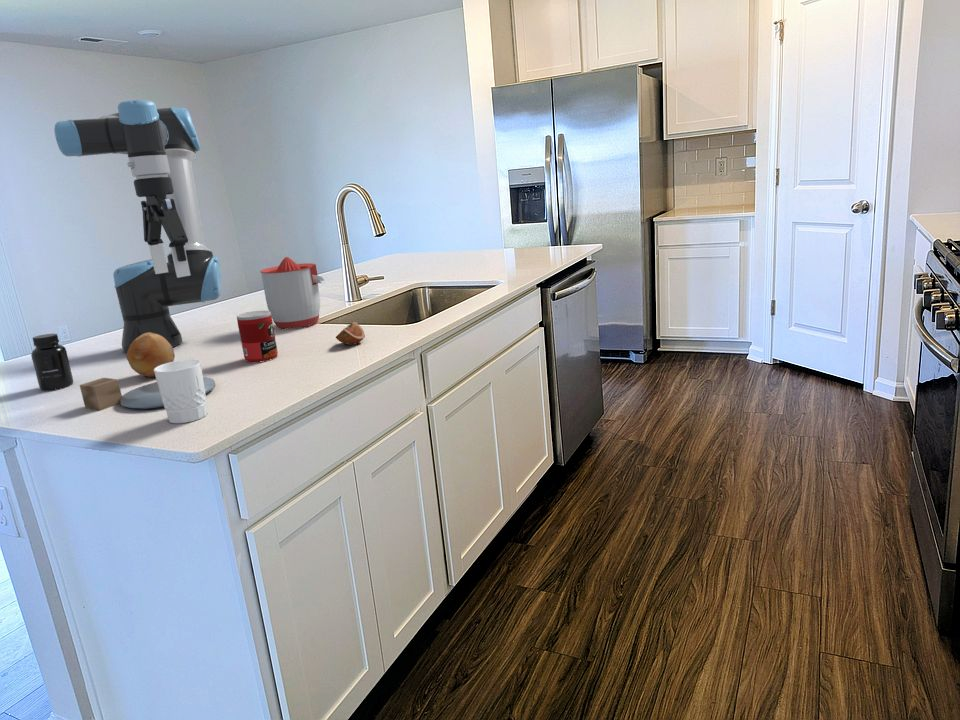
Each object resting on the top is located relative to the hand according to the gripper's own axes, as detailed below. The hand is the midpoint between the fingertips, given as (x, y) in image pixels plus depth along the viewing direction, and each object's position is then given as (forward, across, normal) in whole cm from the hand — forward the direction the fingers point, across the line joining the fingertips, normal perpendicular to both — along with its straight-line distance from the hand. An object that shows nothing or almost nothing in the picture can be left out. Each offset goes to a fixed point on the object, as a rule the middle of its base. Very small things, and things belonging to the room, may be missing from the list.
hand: (172, 274), depth 155 cm
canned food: (+23, +6, +14) cm, 28 cm away
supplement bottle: (+23, -17, -24) cm, 38 cm away
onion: (+23, -4, -7) cm, 24 cm away
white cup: (+22, +34, -14) cm, 43 cm away
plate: (+22, +17, -11) cm, 30 cm away
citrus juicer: (+23, -21, +40) cm, 50 cm away
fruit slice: (+23, +15, +34) cm, 43 cm away
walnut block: (+22, +10, -22) cm, 33 cm away
